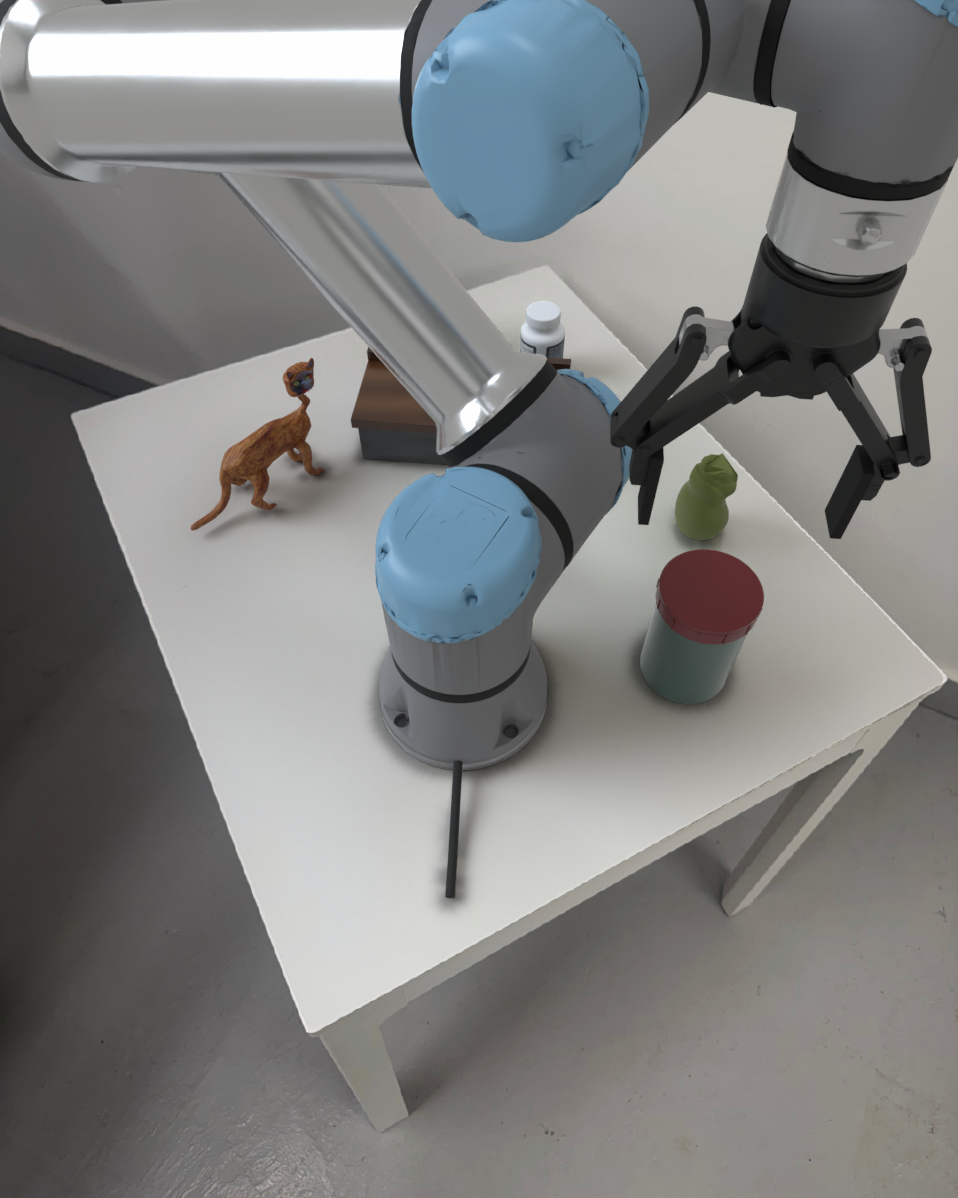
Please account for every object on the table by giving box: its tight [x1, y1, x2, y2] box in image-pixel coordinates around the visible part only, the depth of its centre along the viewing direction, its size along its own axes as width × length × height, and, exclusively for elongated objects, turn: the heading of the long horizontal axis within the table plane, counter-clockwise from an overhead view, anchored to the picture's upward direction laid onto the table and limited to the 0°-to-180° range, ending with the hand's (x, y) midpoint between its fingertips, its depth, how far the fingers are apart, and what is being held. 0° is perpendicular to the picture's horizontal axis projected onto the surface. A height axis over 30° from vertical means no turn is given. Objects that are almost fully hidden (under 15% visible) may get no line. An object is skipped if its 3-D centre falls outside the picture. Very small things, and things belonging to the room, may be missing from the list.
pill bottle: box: [519, 300, 566, 358], centre depth 98 cm, size 5×5×9 cm
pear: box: [674, 452, 739, 541], centre depth 82 cm, size 6×5×10 cm
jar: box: [639, 601, 748, 705], centre depth 72 cm, size 8×8×12 cm
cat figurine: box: [189, 357, 325, 531], centre depth 85 cm, size 18×7×14 cm, turn 134°
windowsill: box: [350, 346, 572, 466], centre depth 92 cm, size 11×23×7 cm, turn 84°
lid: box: [655, 548, 765, 645], centre depth 68 cm, size 8×8×2 cm
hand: (736, 518), depth 60 cm, fingers open, 13 cm apart
